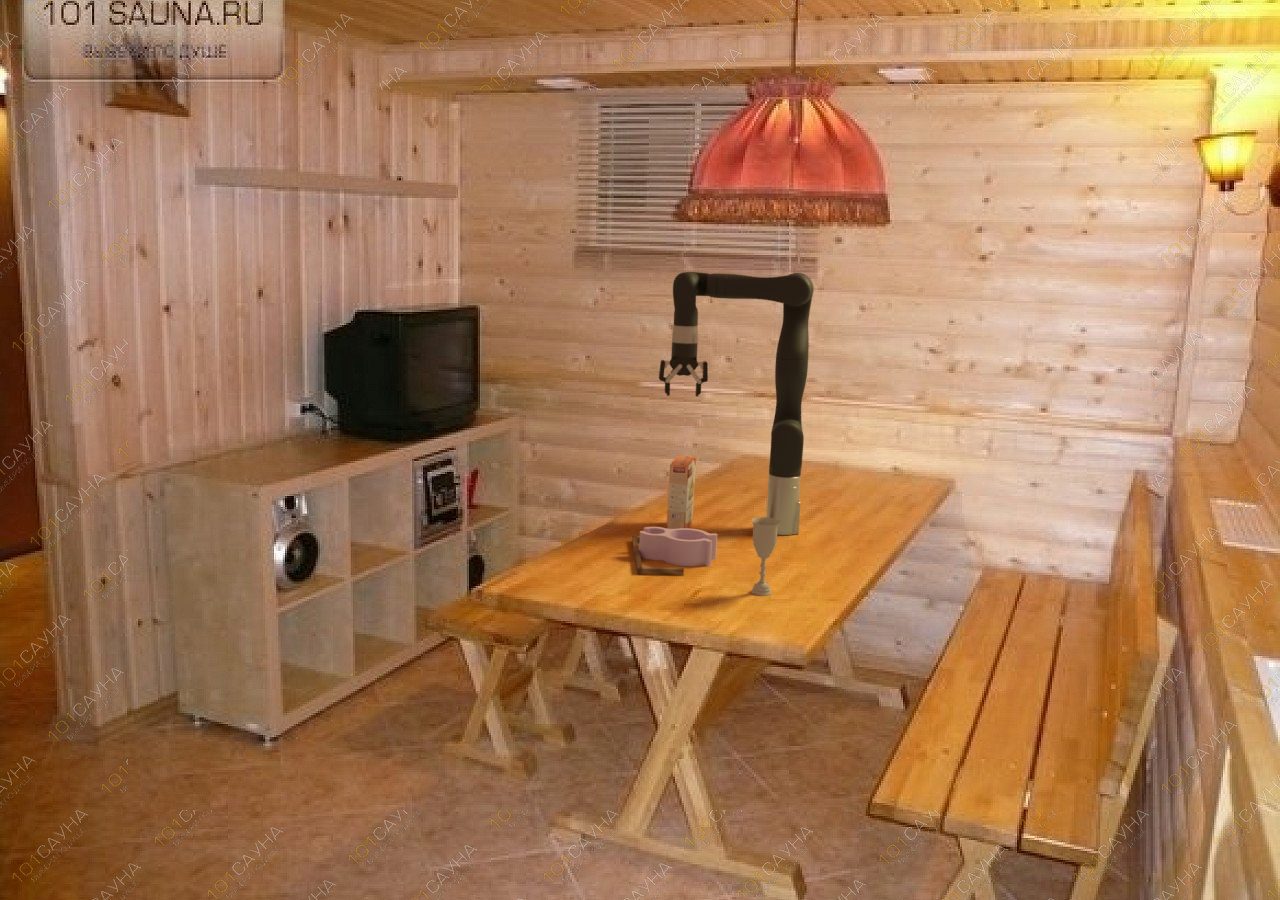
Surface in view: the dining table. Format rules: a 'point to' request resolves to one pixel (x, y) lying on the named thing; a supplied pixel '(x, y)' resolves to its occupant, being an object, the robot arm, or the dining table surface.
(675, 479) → the cracker box
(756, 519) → the chalice
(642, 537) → the clip
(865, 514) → the dining table surface
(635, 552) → the walnut frame
